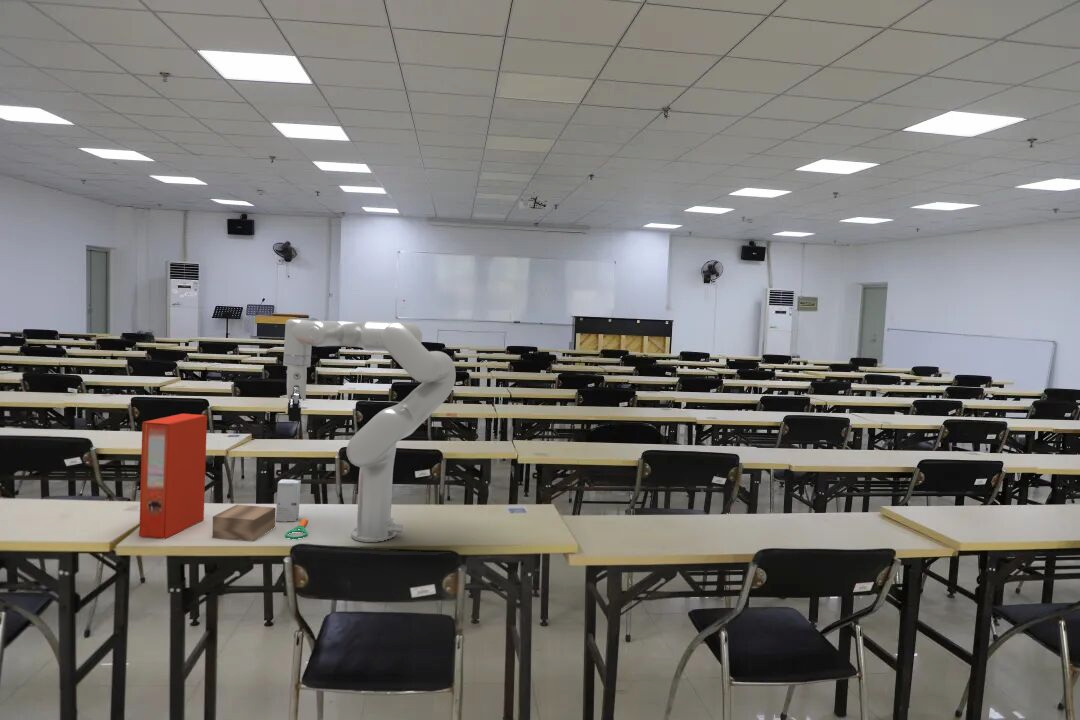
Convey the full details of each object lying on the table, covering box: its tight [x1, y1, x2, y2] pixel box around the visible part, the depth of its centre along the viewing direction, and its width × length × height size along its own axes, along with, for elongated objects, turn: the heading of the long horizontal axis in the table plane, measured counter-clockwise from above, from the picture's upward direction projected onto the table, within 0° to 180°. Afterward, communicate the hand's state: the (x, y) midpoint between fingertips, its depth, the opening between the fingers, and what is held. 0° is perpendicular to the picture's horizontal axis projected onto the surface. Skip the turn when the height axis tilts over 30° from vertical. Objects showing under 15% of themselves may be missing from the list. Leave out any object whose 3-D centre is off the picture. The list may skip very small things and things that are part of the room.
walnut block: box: [211, 504, 277, 541], centre depth 184 cm, size 12×12×6 cm
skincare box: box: [275, 478, 302, 522], centre depth 197 cm, size 6×4×12 cm
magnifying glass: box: [284, 518, 309, 540], centre depth 188 cm, size 15×6×2 cm, turn 10°
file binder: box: [138, 413, 208, 540], centre depth 184 cm, size 8×17×32 cm, turn 176°
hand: (293, 418), depth 189 cm, fingers open, 9 cm apart
